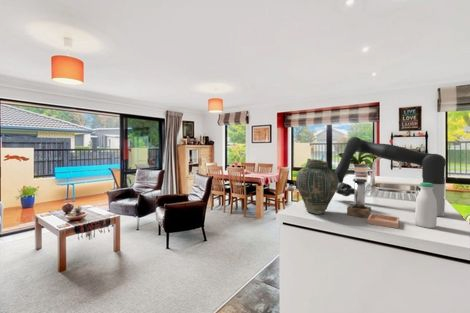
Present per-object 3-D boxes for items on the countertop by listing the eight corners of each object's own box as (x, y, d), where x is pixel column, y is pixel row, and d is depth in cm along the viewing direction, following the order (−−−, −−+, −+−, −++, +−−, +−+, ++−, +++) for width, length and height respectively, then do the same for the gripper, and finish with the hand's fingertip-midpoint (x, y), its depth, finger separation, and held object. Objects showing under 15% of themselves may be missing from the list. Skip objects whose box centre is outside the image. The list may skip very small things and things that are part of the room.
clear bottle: (366, 214, 129) (367, 179, 128) (364, 216, 123) (365, 180, 123) (353, 212, 132) (354, 178, 132) (351, 214, 127) (352, 179, 127)
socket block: (370, 214, 129) (371, 206, 129) (368, 218, 121) (368, 210, 121) (350, 211, 135) (351, 204, 135) (347, 214, 127) (347, 207, 127)
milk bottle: (437, 229, 104) (439, 184, 104) (416, 226, 108) (417, 183, 108) (434, 225, 111) (436, 182, 110) (414, 222, 115) (415, 181, 114)
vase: (289, 213, 129) (290, 158, 128) (302, 205, 147) (303, 157, 147) (333, 220, 117) (334, 160, 116) (341, 211, 135) (342, 158, 134)
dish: (399, 222, 115) (399, 217, 115) (397, 228, 105) (398, 223, 105) (370, 217, 122) (371, 213, 122) (367, 223, 112) (367, 218, 112)
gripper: (332, 183, 149) (342, 187, 132) (355, 183, 148) (368, 187, 132) (331, 194, 149) (342, 200, 132) (354, 195, 148) (368, 200, 132)
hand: (355, 193), depth 132 cm, fingers open, 8 cm apart
